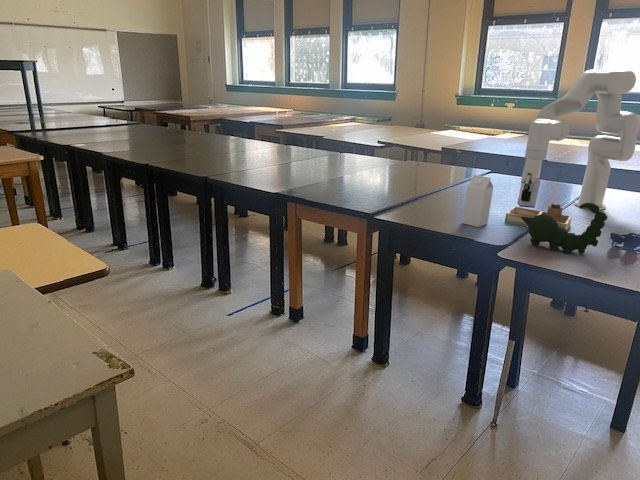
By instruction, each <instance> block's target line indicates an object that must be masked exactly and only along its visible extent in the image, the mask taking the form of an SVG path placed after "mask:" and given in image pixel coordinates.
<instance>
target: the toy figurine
mask: <svg viewBox="0 0 640 480" xmlns="http://www.w3.org/2000/svg"><path fill="white" fill-rule="evenodd" d="M578 208H579V209H586V208H588V209H587V210H589V211H591V213H592V214H594V216H593V219H591V221H590V223H589V225H588V226H587V227H586V229H585V231H584V232H582V233H581V234H575V233H574V232H568V230H565V229H564V228H562V227H558V223H557V221H556V220H555V219H554V218H553V217H551V216H549V215H544V214H543V215H537V216H535V217H533V218H530V217H521V218H522V220H523V221H524V222H525V223H526V224H527V225H528V227H527V231H528V234H529V237H531V239H530V243H531V245H534V246H538V245H540V244H541V243H546V242H547V243H548V245H549V246H548V248H549V249H550V250H553V251H554V250H556V249H558V248H562V249H563V253H564V254H567V255H568V254H570V253H571V252H573V251H575V250H577V252H578V253H579V254H582V255H583V254H584V253H585V251H586V250H587V247H589V246H592V247H593V248H594V247H597V246H598V244H599V239H597V238H600V237H601V235H602V234H603V231H602V230H601V229H604V228H605V225H606V223H605V222H606V221H607V219H608V215H607V214H606V212H604V211H600V209H599V207H598V206H597V205H596V204H593V203H584V204H582V205H581V206H580V207H578ZM562 249H561V250H562Z"/></svg>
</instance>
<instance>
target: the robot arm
mask: <svg viewBox="0 0 640 480" xmlns="http://www.w3.org/2000/svg"><path fill="white" fill-rule="evenodd" d="M579 75H580V76H578V78H577V79H576V80H575V82H574V83H573V84H572V86H571V87H570V88H569V89H568V91H567V92H566V93H565V95H564V96H563V97H560V98H558V99H556V100H555V101H553V102H552V101H551V102H550V103H549V104H547V105H546V106H544V107H542V109H540V111H539V112H538V113H537V114H536V115H535V117H534V119H532V121H531V124H529V125H530V126H529V131H528V137H527V143H526V148H525V152H524V159H525V158H526V159H525V162H524V166H523V171H522V174H521V175H522V176H521V179H520V184H521V183H524V181H525V183H524V187H523V190H522V196H521V201H527V202H529V201H530V196H531V188H532V185H534V184H535V182H536V179H538V178H539V179H540V174H541V169H542V164H543V160H546V158H547V153H548V148H549V145H550V144H549V143H550V141H555V142H560V141H563V140H565V139H566V138H568V136H569V134H570V130H571V129H570V128H571V127H570V126H569V124H568V123H567V122H565V121H563V120H558V119H556V118H558V117H560V116H561V117H562V116H566V115H570V114H573V113H574V114H575V113H576V112H580V111H582V110H584V108H585V106H586V105H587V104H588V102H590V100H591V98H592V97H593V96H594V95H596V97H597V109H596V115H595V130H596V131H597V132H599V133H603V134H601V135H599V134H598V135H595V136H593V137H592V138H591V139H590V141H589V142H588V145H587V146H588V148H587V149H588V151H587V153H588V154H587V162H586V168H585V172H584V176H583V181H582V185H581V189H580V194H579V199H578V200H577V199H576V200H575V201H574V205H575V206H576V207H578V208H579V207H580V206H581V205H582V204H584V203H593V204H596V205H597V206H598V207H599V209H600V210H605V209H606V208H607V206H606V204H604V199H605V195H606V190H607V186H608V183H609V180H610V179H609V178H610V174H611V171H612V167H611V164H610V161H609V160H611V161H612V160H613V161H618V162H627V161H629V160H631V159H632V157H633V155H634V153H635V150H636V145H637V138H638V134H639V133H638V132H639V126H640V119H639V116H638V114H637V113H635V112H631V111H623V110H622V100H623V99H622V94H627V93H629V92H631V91H632V90H633V89H634V87H635V85H636V84H637V78H636V77H637V76H636V74H635V72H633V71H632V70H625V69H624V70H620V69H619V70H617V69H588V70H585V71H584V72H582V73H581V74H579ZM605 134H609V135H605ZM612 135H616V136H612ZM617 136H618V137H617ZM529 182H531V183H529ZM585 209H586V210H589V209H588V208H585Z"/></svg>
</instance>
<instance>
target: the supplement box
mask: <svg viewBox="0 0 640 480" xmlns="http://www.w3.org/2000/svg"><path fill="white" fill-rule="evenodd" d="M541 181H542V179H541V178H540V177H539V178H538V179H536V182H535V184H534V185H532V188H531V196H530V201H529V202H527V201H521V196H522V190H523V187H524V183H525V181H524V183H521V182H520V189H519V193H518V198H517V199H518V200H517V204H518V207H522V208H528V209H535V208H536V204H537V199H538V196H539V195H538V194H539V191H540V184H541ZM529 183H531V182H529Z"/></svg>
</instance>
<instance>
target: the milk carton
mask: <svg viewBox="0 0 640 480" xmlns="http://www.w3.org/2000/svg"><path fill="white" fill-rule="evenodd" d="M493 192H494V186H493V183H492V179H491V177H488V176H485V175H479V174H478V175H477V174H475V173H474V174H473V175H472V178H471V180H470V181H469V182H468V184H467V186H466V193H465V199H464V200H465V201H464V207H463V215H462V221H461V222H462V224H466V225H469V226H471V227H476V228H480V227H483V226H485V225H487V224H488V222H489V217H490V210H491V204H492V197H493Z"/></svg>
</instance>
